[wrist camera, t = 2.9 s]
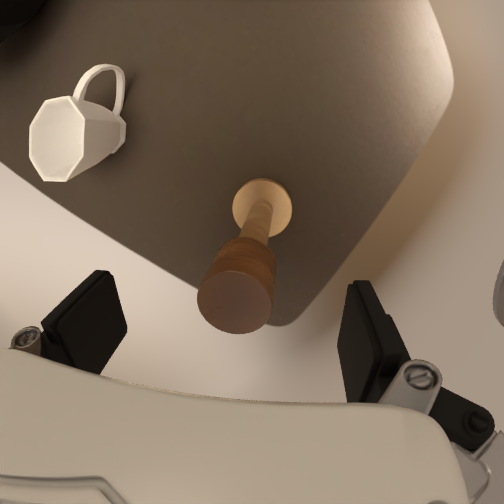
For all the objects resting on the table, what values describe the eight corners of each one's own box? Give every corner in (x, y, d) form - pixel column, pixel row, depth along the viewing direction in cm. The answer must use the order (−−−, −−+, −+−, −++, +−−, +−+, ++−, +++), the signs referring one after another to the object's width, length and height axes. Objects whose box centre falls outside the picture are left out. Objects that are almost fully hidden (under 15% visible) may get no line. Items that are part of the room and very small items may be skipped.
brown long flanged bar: (292, 178, 24) (302, 247, 10) (290, 233, 26) (293, 354, 12) (233, 177, 24) (165, 243, 10) (235, 232, 26) (182, 346, 12)
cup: (74, 151, 24) (20, 165, 17) (110, 62, 20) (56, 50, 13) (122, 179, 25) (70, 199, 18) (165, 83, 21) (118, 69, 14)
